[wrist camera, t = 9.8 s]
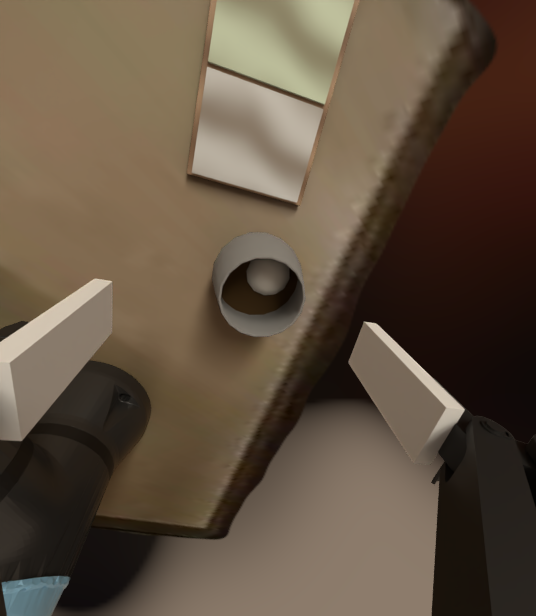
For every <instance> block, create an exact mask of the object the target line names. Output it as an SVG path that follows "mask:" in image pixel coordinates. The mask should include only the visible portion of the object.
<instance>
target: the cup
mask: <svg viewBox="0 0 536 616" xmlns="http://www.w3.org/2000/svg"><path fill="white" fill-rule="evenodd" d="M212 282H213V286H214V290H215V294H216V298H217V301H218V304H219V307H220V310H221V313H222V315H223V316H224V318H225V319H226V321H227V322H228V324H229V325H230V326H232V327H233V328H235V329H236V330H237V331H239V332H240V333H243V334H246V335H249V336H253V337H269V336H272V335H275V334H278V333H281V332H283V331H284V330H286V329H287V328H288V327H290V326H291V325H292V324H294V322H295V321H296V319H297V318H298V317H299V315H300V314H301V312H302V309H303V306H304V302H305V288H304V281H303V276H302V270H301V265H300V262H299V260H298V258H297V256H296V254H295V252H294V250H293V249H292V248H291V247H290V246H289V245H288V244H287V243H285V242H284V241H283V240H282V239H281V238H278V237H276V236H273V235H271V234H268V233H253V232H250V233H247V234H244V235H241V236H238V237H236V238H234V239H233V240H231V241H230V242H229V243H228V244H227V245H225V246H224V247H223V248H222V249H221V251H220V253H219V255H218V256H217V258H216V260H215V262H214V267H213V274H212Z"/></svg>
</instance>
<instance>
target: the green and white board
mask: <svg viewBox="0 0 536 616" xmlns="http://www.w3.org/2000/svg"><path fill="white" fill-rule="evenodd" d="M359 1H360V0H211V3H210V10H209V18H208V25H207V32H206V39H205V46H204V53H203V61H202V68H201V75H200V82H199V89H198V96H197V103H196V111H195V118H194V125H193V132H192V139H191V146H190V153H189V161H188V168H187V174H190V175H194V176H197V177H201V178H204V179H208V180H211V181H215V182H218V183H222V184H225V185H229V186H233V187H236V188H240V189H243V190H247V191H250V192H254V193H257V194H261V195H264V196H268V197H271V198H275V199H278V200H282V201H285V202H289V203H292V204H296V205H299V206H300V205H301V201H302V198H303V194H304V191H305V187H306V184H307V180H308V177H309V173H310V170H311V167H312V163H313V160H314V156H315V153H316V149H317V146H318V142H319V139H320V136H321V132H322V129H323V125H324V122H325V118H326V115H327V111H328V108H329V104H330V101H331V98H332V94H333V91H334V87H335V84H336V80H337V77H338V73H339V70H340V66H341V63H342V60H343V56H344V53H345V49H346V46H347V42H348V39H349V35H350V32H351V29H352V25H353V22H354V18H355V15H356V11H357V8H358V4H359Z"/></svg>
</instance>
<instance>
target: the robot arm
mask: <svg viewBox="0 0 536 616" xmlns="http://www.w3.org/2000/svg"><path fill="white" fill-rule="evenodd" d="M111 333H112V281H107V280H101V279H93V280H92V281H90V282H89V283H88V284H86V285H85V286H83V287H82V288H80V289H79V290H77V291H76V292H74V293H73V294H71V295H70V296H68V297H67V298H65V299H64V300H62V301H61V302H59V303H58V304H56V305H55V306H53V307H52V308H50V309H49V310H47V311H46V312H44V313H43V314H41V315H40V316H38V317H37V318H35V319H34V320H32V321H31V322H24V321H21V322H18V323H15V324H12V325H9V326H6V327H4V328H2V329H0V616H51V615H52V613H53V611H54V609H55V607H56V604H57V602H58V600H59V598H60V596H61V594H62V592H63V589H65V588H66V587H67V585H68V583H69V580H70V577H71V574H72V572H73V569H74V567H75V564H76V562H77V559H78V557H79V554H80V552H81V549H82V547H83V544H84V542H85V540H86V537H87V535H88V532H89V530H90V527H91V525H92V522H93V520H94V517H95V515H96V512H97V510H98V507H99V505H100V502H101V500H102V497H103V495H104V492H105V490H106V487H107V485H108V482H109V480H110V478H111V475H112V473H113V471H114V469H115V468H116V467H117V466H118V465H119V463H120V462H121V461H122V460H123V459H124V457H125V456H126V455H127V454H128V453H129V452H130V450H131V449H132V448H133V447H134V446H135V444H136V443H137V442H138V441H139V440H140V438H141V437H142V435H143V433H144V431H145V429H146V426H147V423H148V421H149V418H150V413H151V406H150V400H149V397H148V395H147V393H146V391H145V390H144V388H143V387H142V386H141V384H140V383H139V382H138V381H137V380H136V379H135V378H133V377H132V376H131V375H129V374H128V373H126V372H125V371H123V370H121V369H119V368H117V367H114V366H112V365H109V364H105V363H101V362H96V361H89V359H90V358H91V357H92V356H93V355H94V353H95V352H96V351H97V350H98V349H99V347H100V346H101V345H102V344H103V343H104V341H105V340H106V339H107V338H108V337H109V335H110V334H111ZM348 363H349V364H350V366H351V367H352V369H353V371H354V372H355V374H356V375H357V377H358V378H359V380H360V381H361V383H362V385H363V386H364V388H365V389H366V391H367V392H368V394H369V395H370V397H371V398H372V400H373V402H374V403H375V405H376V406H377V408H378V409H379V411H380V412H381V414H382V415H383V417H384V418H385V420H386V422H387V423H388V425H389V426H390V428H391V429H392V431H393V433H394V434H395V436H396V437H397V439H398V440H399V442H400V443H401V445H402V446H403V448H404V449H405V451H406V453H407V454H408V456H409V457H410V459H411V460H412V462H413V463H414V464H429V465H431V464H432V462H433V460H434V459H435V457H436V455H437V454H438V453H439V454H440V455H441V457H442V458H443V459H444V463H443V464H442V466H441V467H440V469H439V470H438V472H437V474H436V475H435V477H434V478H433V480H432V482H431V483H433V484H435V483H436V481H439V497H438V514H437V531H436V549H435V566H434V584H433V601H432V616H536V435H534V436H533V438H532V439H531V440H530V441H529V443H528V444H526V443H523V442H520V441H517V440H515V439H514V438H513V436H512V435H511V434H510V433H509V432H508V431H507V430H506V429H505V428H503V427H502V426H500V425H499V424H497V423H495V422H493V421H492V420H490V419H487V418H485V417H481V416H473V415H472V414H471V413H470V412H469V411H468V410H467V409H465V407H463V406H462V405H461V404H460V403H459V402H458V401H457V400H456V399H455V398H454V397H453V396H452V395H450V393H449V392H448V391H447V390H446V389H444V387H443V386H442V385H441V384H440V383H439V382H438V381H437V380H435V379H434V378H432V377H431V376H430V375H429V374H427V372H426V371H425V370H424V369H423V368H422V367H421V366H420V365H419V364H417V363H416V362H415V361H414V360H413V359H412V358H411V357H410V356H409V355H408V354H407V353H406V352H405V351H404V350H403V349H402V348H401V347H400V346H399V345H398V344H397V343H396V342H395V341H394V340H393V339H391V337H389V335H388V334H386V333H385V332H384V331H383V330H382V329H381V328H380V327H379V326H378V325H377V324H375V323H368V322H364V324H363V326H362V329H361V331H360V334H359V336H358V339H357V342H356V344H355V347H354V350H353V352H352V355H351V357H350V360H349V362H348Z"/></svg>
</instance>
